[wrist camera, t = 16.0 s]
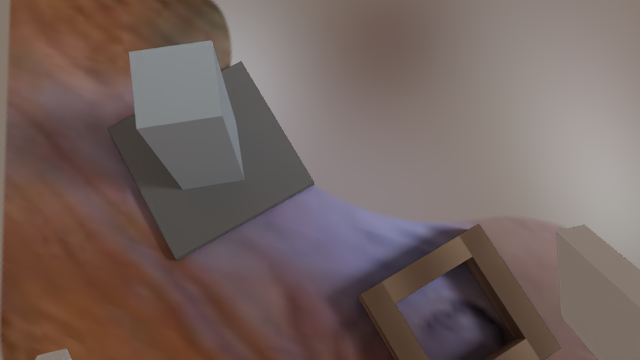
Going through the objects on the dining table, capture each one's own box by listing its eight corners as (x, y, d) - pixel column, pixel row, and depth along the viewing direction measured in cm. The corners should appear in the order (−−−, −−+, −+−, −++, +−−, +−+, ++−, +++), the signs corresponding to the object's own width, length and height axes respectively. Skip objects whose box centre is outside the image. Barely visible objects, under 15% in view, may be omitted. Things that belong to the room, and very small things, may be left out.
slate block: (236, 122, 39) (211, 40, 29) (244, 179, 38) (222, 115, 27) (176, 132, 39) (129, 51, 28) (182, 189, 38) (136, 128, 27)
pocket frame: (469, 229, 38) (478, 223, 36) (547, 347, 36) (561, 348, 34) (357, 297, 37) (360, 294, 35) (432, 423, 35) (440, 428, 33)
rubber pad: (242, 65, 41) (241, 61, 40) (313, 184, 39) (314, 182, 38) (110, 131, 39) (107, 128, 39) (177, 260, 37) (175, 259, 37)
